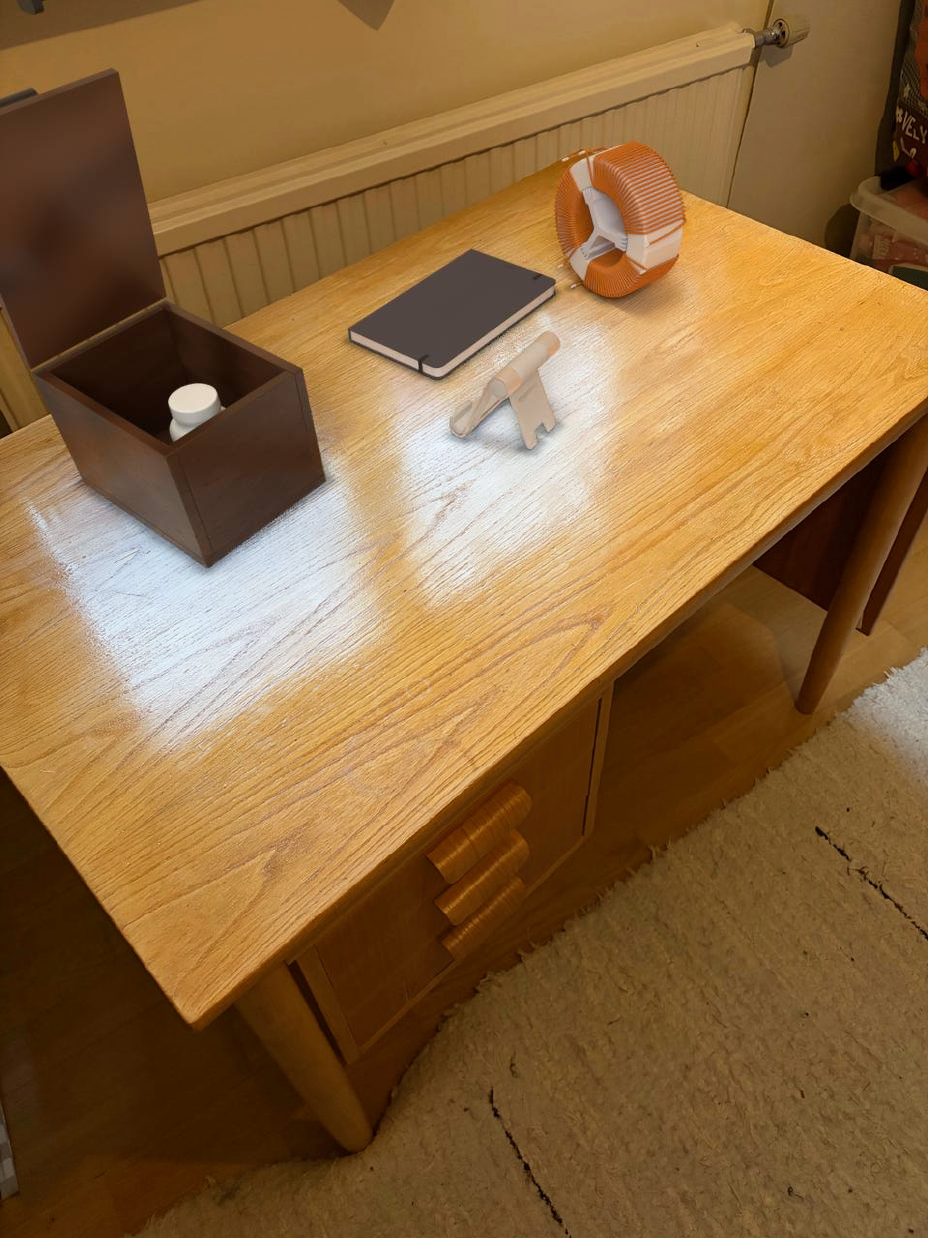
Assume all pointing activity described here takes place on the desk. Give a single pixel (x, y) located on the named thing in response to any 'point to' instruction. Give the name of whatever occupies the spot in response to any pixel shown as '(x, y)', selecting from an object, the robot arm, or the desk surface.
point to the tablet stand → (514, 393)
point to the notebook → (453, 313)
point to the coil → (619, 218)
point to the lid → (72, 217)
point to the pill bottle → (192, 408)
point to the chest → (204, 457)
